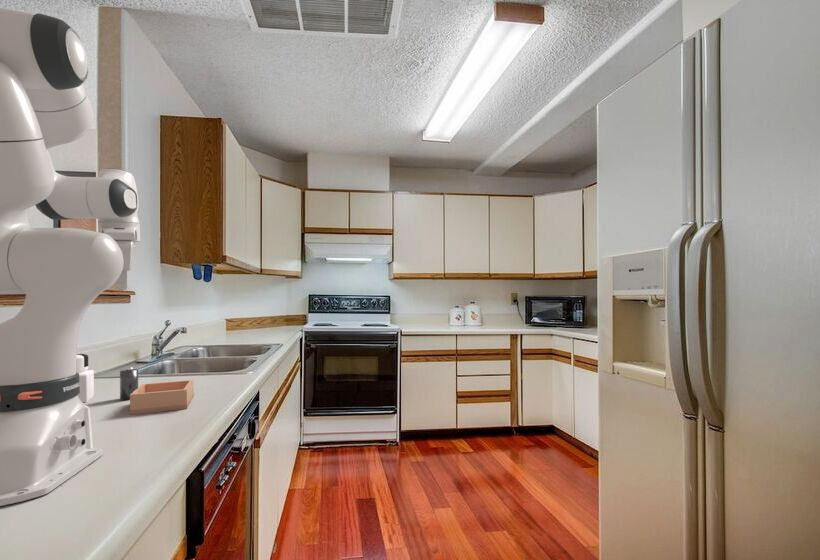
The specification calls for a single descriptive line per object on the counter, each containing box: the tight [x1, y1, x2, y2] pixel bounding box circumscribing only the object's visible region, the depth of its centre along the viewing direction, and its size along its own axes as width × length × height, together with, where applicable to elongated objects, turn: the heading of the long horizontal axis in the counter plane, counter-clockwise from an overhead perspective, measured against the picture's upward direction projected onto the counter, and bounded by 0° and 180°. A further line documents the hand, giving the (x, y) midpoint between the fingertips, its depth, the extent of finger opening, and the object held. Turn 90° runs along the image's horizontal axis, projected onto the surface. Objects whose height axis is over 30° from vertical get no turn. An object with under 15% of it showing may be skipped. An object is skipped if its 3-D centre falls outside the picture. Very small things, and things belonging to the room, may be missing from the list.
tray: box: [129, 379, 195, 415], centre depth 103 cm, size 12×12×4 cm
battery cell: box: [119, 366, 139, 402], centre depth 110 cm, size 4×4×8 cm
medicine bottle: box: [76, 353, 95, 404], centre depth 108 cm, size 7×7×12 cm
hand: (122, 288), depth 108 cm, fingers open, 8 cm apart
